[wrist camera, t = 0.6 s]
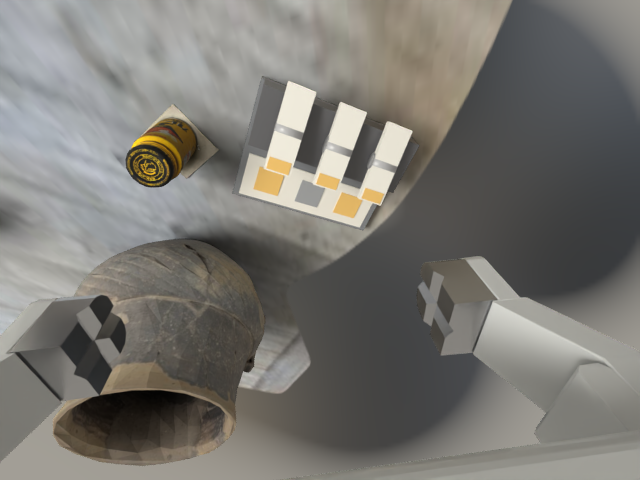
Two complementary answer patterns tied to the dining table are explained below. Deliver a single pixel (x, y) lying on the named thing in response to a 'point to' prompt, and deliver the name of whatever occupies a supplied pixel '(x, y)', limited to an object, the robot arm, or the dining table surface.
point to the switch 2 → (339, 146)
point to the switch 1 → (289, 129)
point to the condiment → (168, 150)
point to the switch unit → (309, 163)
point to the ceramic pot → (167, 355)
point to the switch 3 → (384, 163)
